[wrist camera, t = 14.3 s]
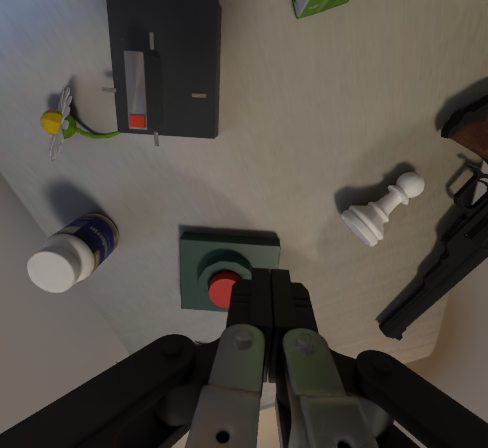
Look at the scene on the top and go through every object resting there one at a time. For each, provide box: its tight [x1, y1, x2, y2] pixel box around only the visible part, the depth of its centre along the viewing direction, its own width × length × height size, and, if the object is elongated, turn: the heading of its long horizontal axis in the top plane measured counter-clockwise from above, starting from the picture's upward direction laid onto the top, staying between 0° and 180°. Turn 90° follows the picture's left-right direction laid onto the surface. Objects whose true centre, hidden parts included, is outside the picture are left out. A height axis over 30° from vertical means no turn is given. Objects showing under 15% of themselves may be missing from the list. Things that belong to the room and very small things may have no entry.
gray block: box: [124, 51, 163, 130], centre depth 28 cm, size 6×2×5 cm, turn 176°
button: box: [209, 271, 241, 308], centre depth 37 cm, size 4×4×2 cm
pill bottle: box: [27, 214, 119, 293], centre depth 36 cm, size 6×6×10 cm
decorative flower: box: [41, 87, 120, 161], centre depth 33 cm, size 8×6×15 cm
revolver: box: [379, 95, 488, 341], centre depth 36 cm, size 29×4×15 cm
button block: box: [180, 232, 280, 312], centre depth 39 cm, size 12×10×4 cm
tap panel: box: [102, 0, 222, 146], centre depth 32 cm, size 11×13×3 cm
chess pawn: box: [341, 172, 425, 247], centre depth 35 cm, size 5×5×9 cm
